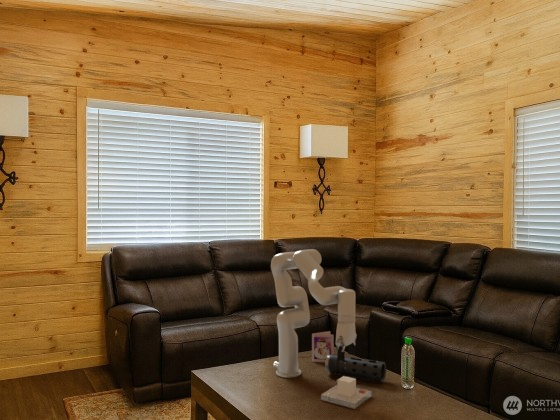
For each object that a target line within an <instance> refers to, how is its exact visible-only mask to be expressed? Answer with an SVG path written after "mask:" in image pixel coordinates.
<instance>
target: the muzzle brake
mask: <svg viewBox="0 0 560 420" xmlns="http://www.w3.org/2000/svg"><path fill="white" fill-rule="evenodd" d="M324 368H325V371H326V372H329V373H330V374H333V375H339V377H340V378H341V377H343V376H346V377H350V378H354V379H356V378H357V379H358V380H363V381H367V382H372V383H379V384H383V383H384V381H385V379H386V374H387V364H386V362H385V361H381V360H380V361H378V360H374V359H367V358H360V357H354V356H353V357H352V356H348V355H345V360H344V361H340V360H337V353H334V354H329V355H328V356H327V358H326V361H325V362H324Z"/></svg>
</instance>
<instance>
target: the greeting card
mask: <svg viewBox="0 0 560 420" xmlns="http://www.w3.org/2000/svg"><path fill="white" fill-rule="evenodd" d="M334 340H335V339H334V334H331V331H330V330H329V331H323V332H322V331H321V332H316V333H315V332H314V333H311V362H312V363H325V361H326V358H327V356H328V355H329V354H335V351H334V348H335V347H334V346H335V345H334V344H335V343H334V342H335V341H334Z"/></svg>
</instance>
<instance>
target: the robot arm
mask: <svg viewBox="0 0 560 420" xmlns="http://www.w3.org/2000/svg"><path fill="white" fill-rule="evenodd" d="M321 263H322V255H321V253H320V252H319V251H318V250H317V249H313V248H311V249H300V250H297V251H289V252H288V251H287V252H280V253H277V254H275V255H273V257H272V258H271V262H270V270H271V273H272V276H273V280H274V286H275V295H276V300H277V304H278V306H279V307H281V308H289V307H294V308H290V309H285V310H282V311H280V312H279V313H278V314H277V315H276V324H277V330H278V361H274V362H273V365H272V367H273V368H276V370H275V375H276V376H278V377H281V378H287V379H291V378H297V377H299V376H301V374H302V370H301V369H300V368H299V338H298V334H297V332H296V329H297V328H302V327H307V325H309V323H310V321H311V314H310V313H311V312H310V307H309V301H308V300H309V299H308V295H307V292H306V290H305V289H304V287H302V286H300V285H296V286H295V285H294V286H293V280H292V277H291V275H290V273H289V272H288V271H287V270H296V269H298V270H299V271H300V272H301V274H303V276H304V277H305V278H306V279H307V285H308V286H307V287H308V290H309V293H310V295H311V297H313V299H314V300H315V301H316V302H318V303H319V304H320V305H322V306H329V305H336V304H337V324H336V332H335V333H336V334H335V347H336V351H337V352H336V354H337V360H340V361H344V360H345V356H346V353H345V348H346V347H347V354H348V355H352V356H355V355H356V345H357V344H356V342H357V336H358V334H357V333H356V291H355V290H354V289H351V288H345V287H343V286H340V285H335V286H328V287H324V286H323V285H321V283H320V282H319V280H320V279H321V278H322V277H323V275H324V268H323V267H322V266H321Z"/></svg>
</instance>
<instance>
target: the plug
mask: <svg viewBox="0 0 560 420" xmlns="http://www.w3.org/2000/svg"><path fill="white" fill-rule="evenodd" d="M335 384H338V394H342V395H345V396H349V397H350V396H352V395H353V394H354V393H356V388H357V379H356V378H355V377H350V376H347V377H346V376H343V377H341V376H340V378H338V379H335Z"/></svg>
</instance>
